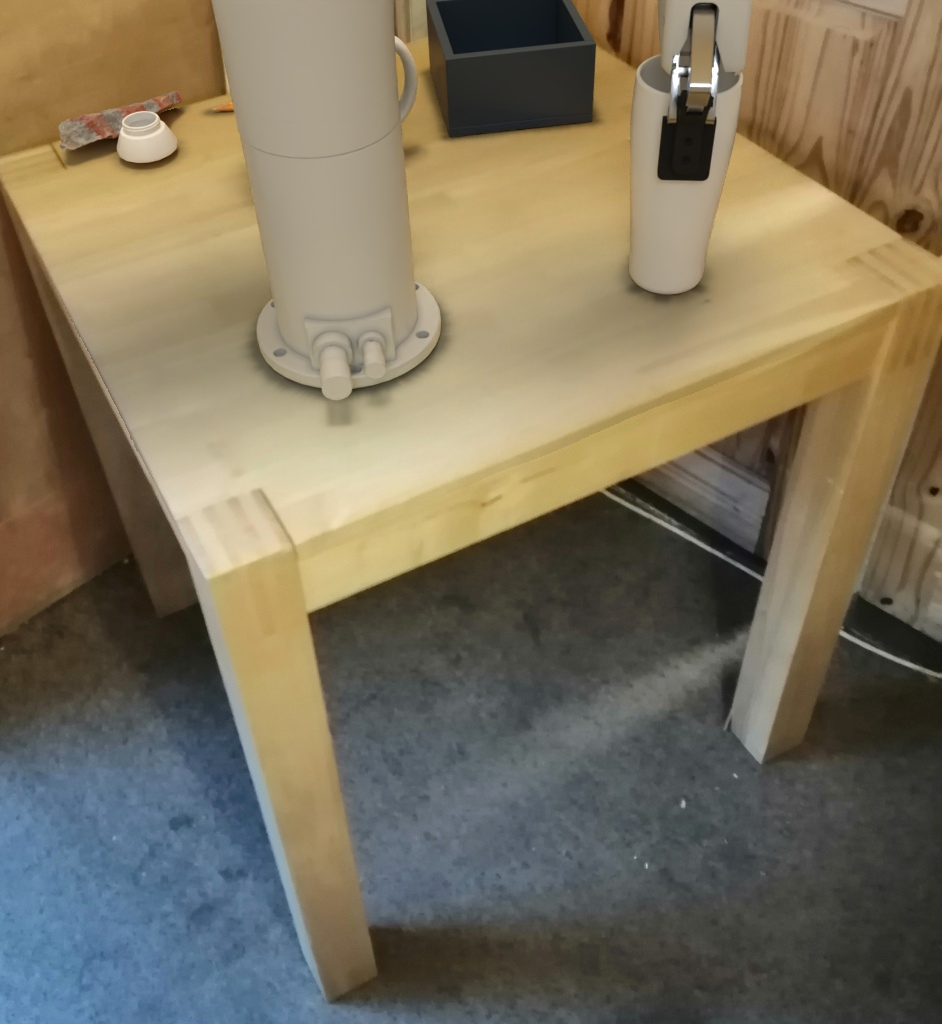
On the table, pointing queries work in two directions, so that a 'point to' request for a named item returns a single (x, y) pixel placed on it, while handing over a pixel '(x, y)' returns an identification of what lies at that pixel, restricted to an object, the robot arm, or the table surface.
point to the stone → (109, 121)
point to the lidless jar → (145, 138)
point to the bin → (510, 64)
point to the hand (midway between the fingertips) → (680, 146)
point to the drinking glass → (673, 185)
